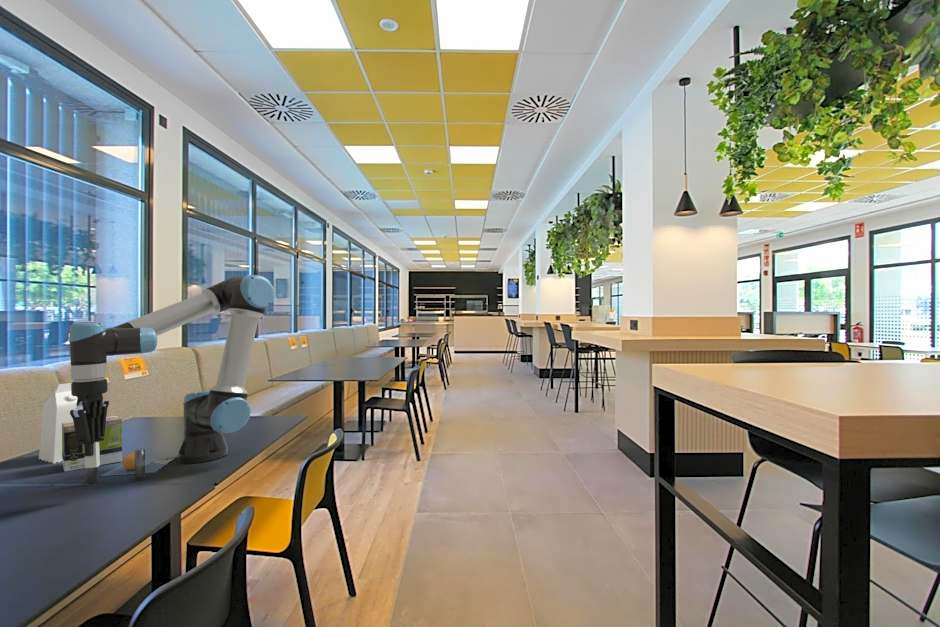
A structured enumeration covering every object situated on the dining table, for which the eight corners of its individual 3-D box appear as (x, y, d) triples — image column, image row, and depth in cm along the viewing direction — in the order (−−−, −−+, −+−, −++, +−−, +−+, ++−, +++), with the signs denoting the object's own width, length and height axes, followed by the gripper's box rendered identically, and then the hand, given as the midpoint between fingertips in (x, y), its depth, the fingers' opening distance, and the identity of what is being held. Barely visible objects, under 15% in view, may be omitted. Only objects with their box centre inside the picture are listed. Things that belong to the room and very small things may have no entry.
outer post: (99, 481, 134) (99, 451, 134) (94, 484, 132) (94, 453, 132) (89, 482, 134) (89, 451, 134) (84, 485, 131) (84, 454, 131)
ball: (137, 458, 142) (140, 473, 144) (144, 448, 147) (147, 462, 149) (117, 460, 141) (120, 475, 143) (125, 449, 146) (128, 464, 148)
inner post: (146, 478, 137) (146, 448, 137) (142, 481, 134) (142, 450, 134) (137, 479, 136) (137, 449, 136) (132, 481, 134) (133, 451, 134)
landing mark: (175, 458, 157) (175, 458, 157) (154, 472, 142) (154, 472, 142) (126, 462, 154) (126, 461, 154) (100, 476, 139) (100, 475, 139)
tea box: (118, 456, 161) (118, 414, 161) (122, 462, 154) (122, 418, 154) (61, 465, 150) (61, 421, 151) (63, 472, 143) (63, 425, 143)
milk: (80, 450, 169) (81, 380, 169) (96, 454, 163) (96, 382, 164) (38, 459, 158) (39, 384, 159) (53, 463, 153) (54, 386, 153)
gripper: (88, 377, 128) (91, 460, 128) (56, 384, 115) (59, 476, 115) (118, 375, 129) (121, 457, 129) (90, 382, 116) (93, 473, 116)
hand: (92, 466), depth 122 cm, fingers closed
